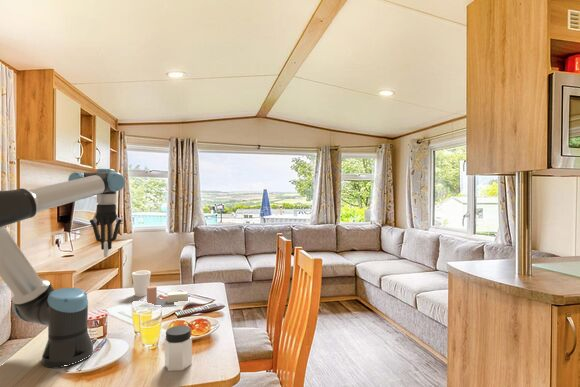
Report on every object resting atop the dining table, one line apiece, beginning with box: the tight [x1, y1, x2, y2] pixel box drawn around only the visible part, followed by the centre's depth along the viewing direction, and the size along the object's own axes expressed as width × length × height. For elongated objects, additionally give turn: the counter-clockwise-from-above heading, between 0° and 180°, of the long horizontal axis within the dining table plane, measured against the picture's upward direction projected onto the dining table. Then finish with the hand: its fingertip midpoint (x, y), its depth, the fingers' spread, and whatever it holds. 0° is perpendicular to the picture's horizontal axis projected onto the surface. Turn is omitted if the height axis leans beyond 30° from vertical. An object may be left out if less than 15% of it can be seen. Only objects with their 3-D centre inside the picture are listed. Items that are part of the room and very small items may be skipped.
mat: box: [157, 294, 191, 308], centre depth 175 cm, size 16×22×1 cm
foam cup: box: [131, 269, 152, 298], centre depth 185 cm, size 10×9×13 cm
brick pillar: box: [146, 284, 158, 305], centre depth 167 cm, size 4×4×10 cm
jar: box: [164, 324, 193, 372], centre depth 114 cm, size 9×8×12 cm
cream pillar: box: [166, 291, 189, 303], centre depth 176 cm, size 4×4×10 cm
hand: (106, 256), depth 148 cm, fingers closed
